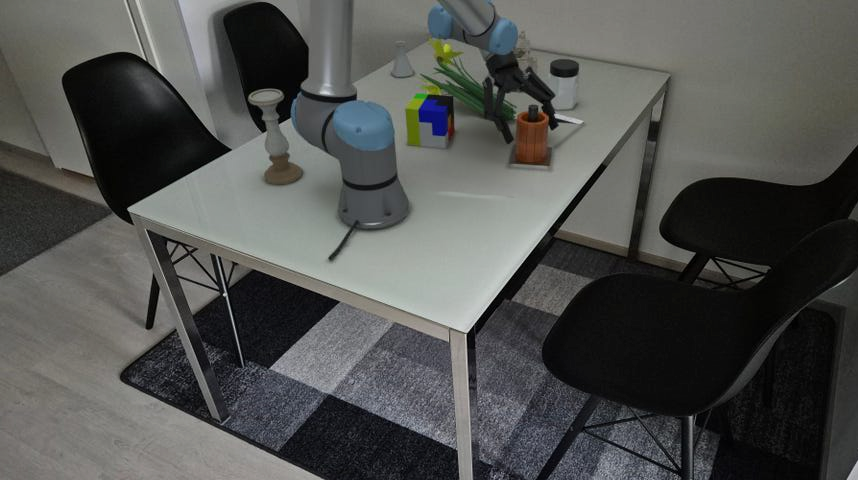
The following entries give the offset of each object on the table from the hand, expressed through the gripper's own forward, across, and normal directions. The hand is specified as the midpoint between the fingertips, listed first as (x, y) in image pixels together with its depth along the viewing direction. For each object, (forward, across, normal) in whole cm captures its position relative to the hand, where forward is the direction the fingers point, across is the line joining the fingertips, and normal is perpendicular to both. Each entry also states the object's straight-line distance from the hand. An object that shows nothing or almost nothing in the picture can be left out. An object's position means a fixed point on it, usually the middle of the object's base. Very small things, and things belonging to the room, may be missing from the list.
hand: (533, 135), depth 153 cm
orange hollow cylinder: (+4, 0, -4) cm, 5 cm away
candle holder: (-14, +54, -24) cm, 61 cm away
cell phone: (-1, -14, -11) cm, 18 cm away
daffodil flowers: (-19, -3, -29) cm, 35 cm away
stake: (+4, 0, -5) cm, 7 cm away
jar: (-11, -28, -21) cm, 36 cm away
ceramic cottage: (-26, -26, -36) cm, 52 cm away
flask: (-44, -1, -54) cm, 70 cm away
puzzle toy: (-12, +15, -22) cm, 29 cm away
